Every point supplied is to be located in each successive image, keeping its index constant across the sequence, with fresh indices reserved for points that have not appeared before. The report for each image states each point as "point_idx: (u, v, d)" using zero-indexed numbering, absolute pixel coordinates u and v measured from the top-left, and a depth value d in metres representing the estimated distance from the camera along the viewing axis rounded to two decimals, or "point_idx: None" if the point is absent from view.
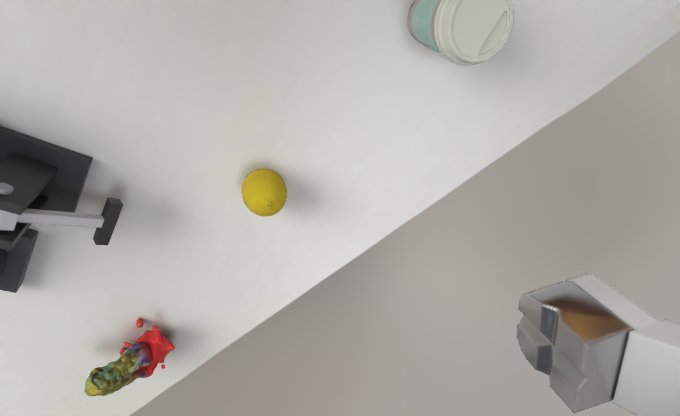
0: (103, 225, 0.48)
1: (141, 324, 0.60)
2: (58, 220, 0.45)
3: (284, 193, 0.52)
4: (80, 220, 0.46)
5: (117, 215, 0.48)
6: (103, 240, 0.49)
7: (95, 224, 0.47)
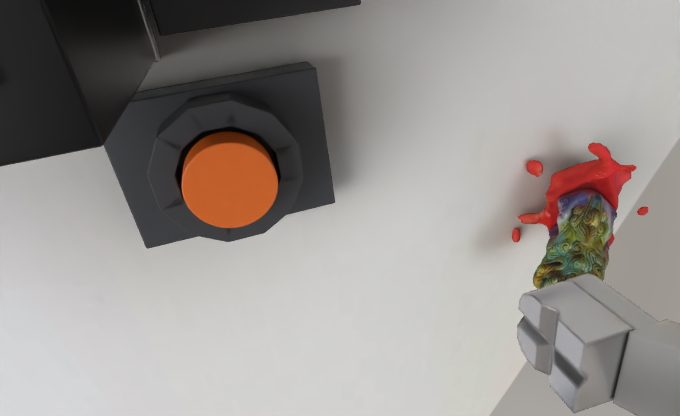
0: None
1: (542, 167, 0.30)
2: None
3: None
4: None
5: None
6: None
7: None
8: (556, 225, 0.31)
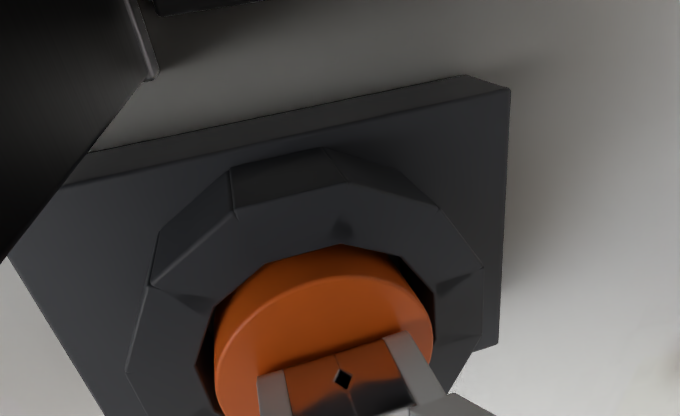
0: None
1: None
2: None
3: None
4: None
5: None
6: None
7: None
8: None
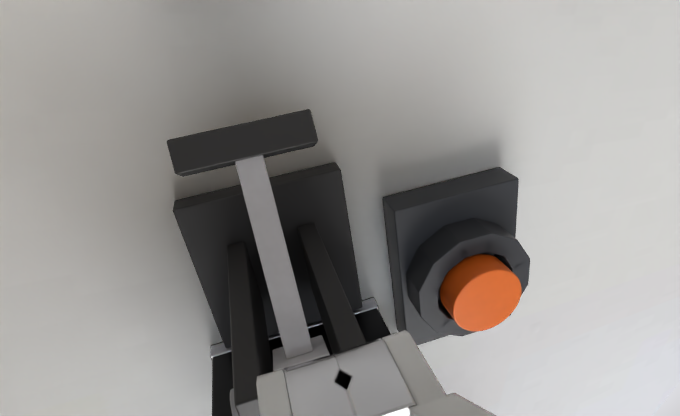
0: (252, 155, 0.16)
1: None
2: (276, 266, 0.17)
3: None
4: (258, 217, 0.17)
5: (206, 136, 0.16)
6: (298, 129, 0.17)
7: (257, 176, 0.17)
8: None
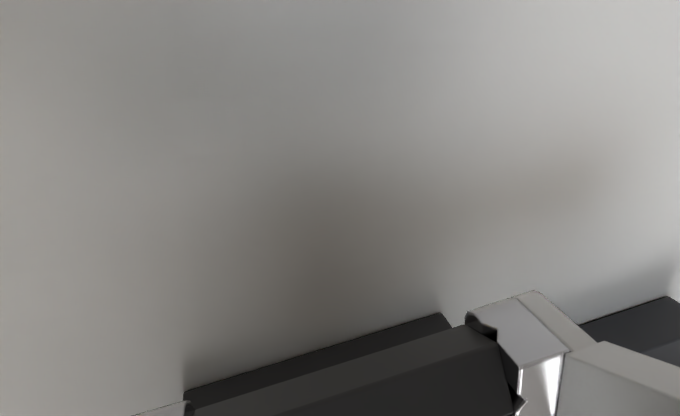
0: None
1: None
2: None
3: None
4: None
5: None
6: (475, 391, 0.07)
7: None
8: None
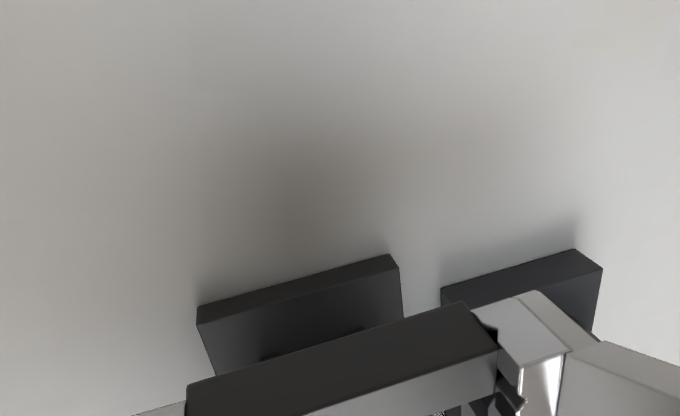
0: None
1: None
2: None
3: None
4: None
5: None
6: (466, 383, 0.08)
7: None
8: None
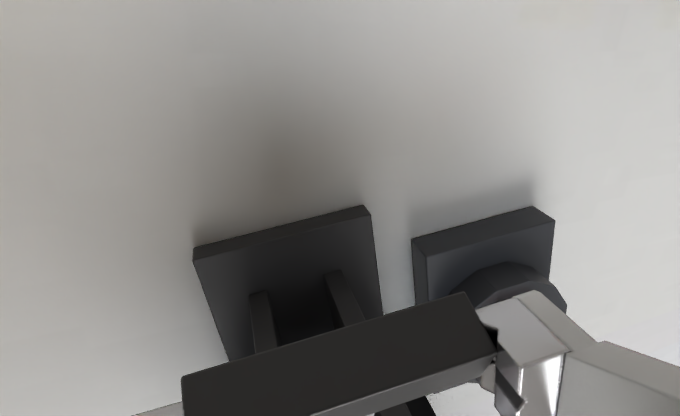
0: None
1: None
2: None
3: None
4: None
5: None
6: (459, 376, 0.08)
7: None
8: None
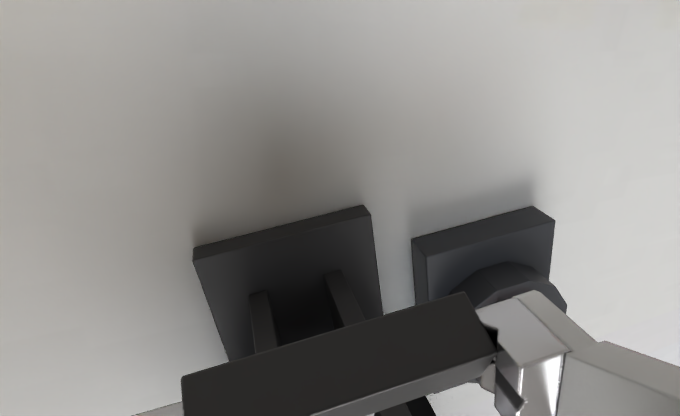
0: None
1: None
2: None
3: None
4: None
5: None
6: (459, 376, 0.08)
7: None
8: None
